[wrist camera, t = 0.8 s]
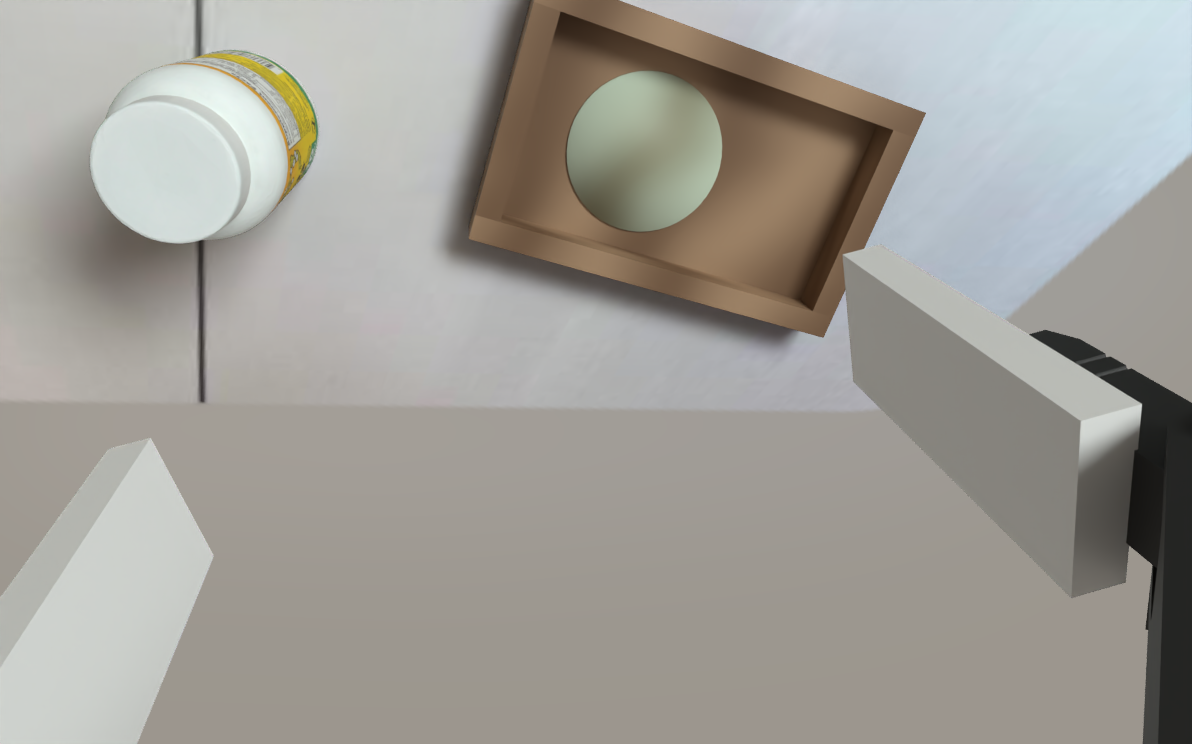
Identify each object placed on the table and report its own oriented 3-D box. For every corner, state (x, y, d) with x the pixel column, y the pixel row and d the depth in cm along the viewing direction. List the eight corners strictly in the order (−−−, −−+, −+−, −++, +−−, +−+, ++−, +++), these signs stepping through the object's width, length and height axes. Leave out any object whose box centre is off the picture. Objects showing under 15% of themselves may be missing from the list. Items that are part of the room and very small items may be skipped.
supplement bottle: (267, 22, 31) (187, 35, 22) (349, 154, 33) (306, 213, 24) (142, 92, 31) (16, 132, 22) (232, 217, 33) (148, 298, 25)
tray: (468, 226, 35) (468, 238, 33) (538, -28, 31) (542, -28, 29) (806, 321, 39) (823, 337, 37) (902, 106, 35) (925, 113, 33)
